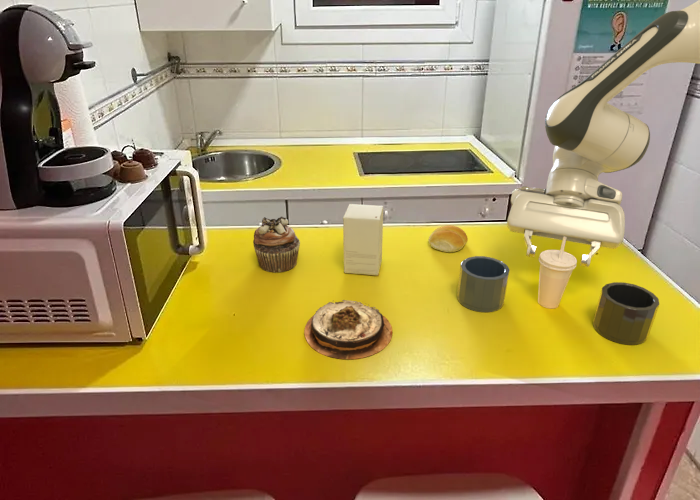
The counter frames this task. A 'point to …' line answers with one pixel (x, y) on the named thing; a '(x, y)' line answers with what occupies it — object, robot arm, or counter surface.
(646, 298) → the cup
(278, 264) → the cupcake
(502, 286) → the cup
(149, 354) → the counter surface
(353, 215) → the white packaging box
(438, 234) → the bread roll
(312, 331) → the frosted layer cake
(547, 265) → the smoothie
